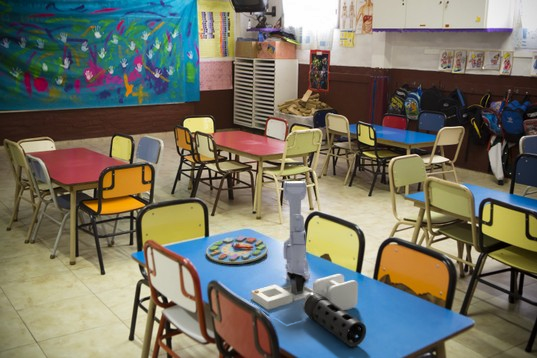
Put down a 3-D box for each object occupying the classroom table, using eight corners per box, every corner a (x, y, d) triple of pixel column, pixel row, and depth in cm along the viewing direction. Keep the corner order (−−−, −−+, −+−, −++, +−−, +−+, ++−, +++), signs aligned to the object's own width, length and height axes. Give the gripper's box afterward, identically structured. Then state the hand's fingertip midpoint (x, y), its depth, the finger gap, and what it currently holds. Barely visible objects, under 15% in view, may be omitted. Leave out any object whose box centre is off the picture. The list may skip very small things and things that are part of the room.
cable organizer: (328, 316, 223) (328, 288, 220) (311, 306, 231) (311, 279, 228) (357, 307, 231) (358, 280, 228) (340, 297, 239) (341, 271, 236)
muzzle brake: (344, 352, 197) (345, 324, 195) (300, 319, 221) (301, 294, 219) (366, 345, 201) (367, 318, 199) (321, 313, 225) (322, 289, 223)
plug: (298, 290, 245) (299, 277, 243) (303, 292, 242) (303, 279, 241) (291, 292, 243) (291, 279, 241) (295, 295, 240) (295, 281, 239)
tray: (299, 286, 250) (299, 282, 250) (316, 295, 241) (316, 291, 241) (278, 292, 244) (278, 288, 244) (294, 302, 235) (294, 298, 235)
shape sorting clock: (193, 257, 285) (193, 245, 284) (232, 240, 310) (231, 229, 308) (243, 270, 268) (243, 258, 267) (279, 252, 293) (279, 240, 291)
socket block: (275, 293, 244) (275, 282, 242) (292, 303, 234) (292, 292, 233) (251, 300, 237) (251, 289, 236) (267, 311, 227) (267, 300, 226)
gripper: (279, 255, 243) (279, 286, 246) (300, 266, 231) (300, 298, 234) (293, 252, 247) (292, 282, 250) (314, 262, 235) (313, 293, 238)
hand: (297, 289), depth 242 cm, fingers closed on plug, 3 cm apart
